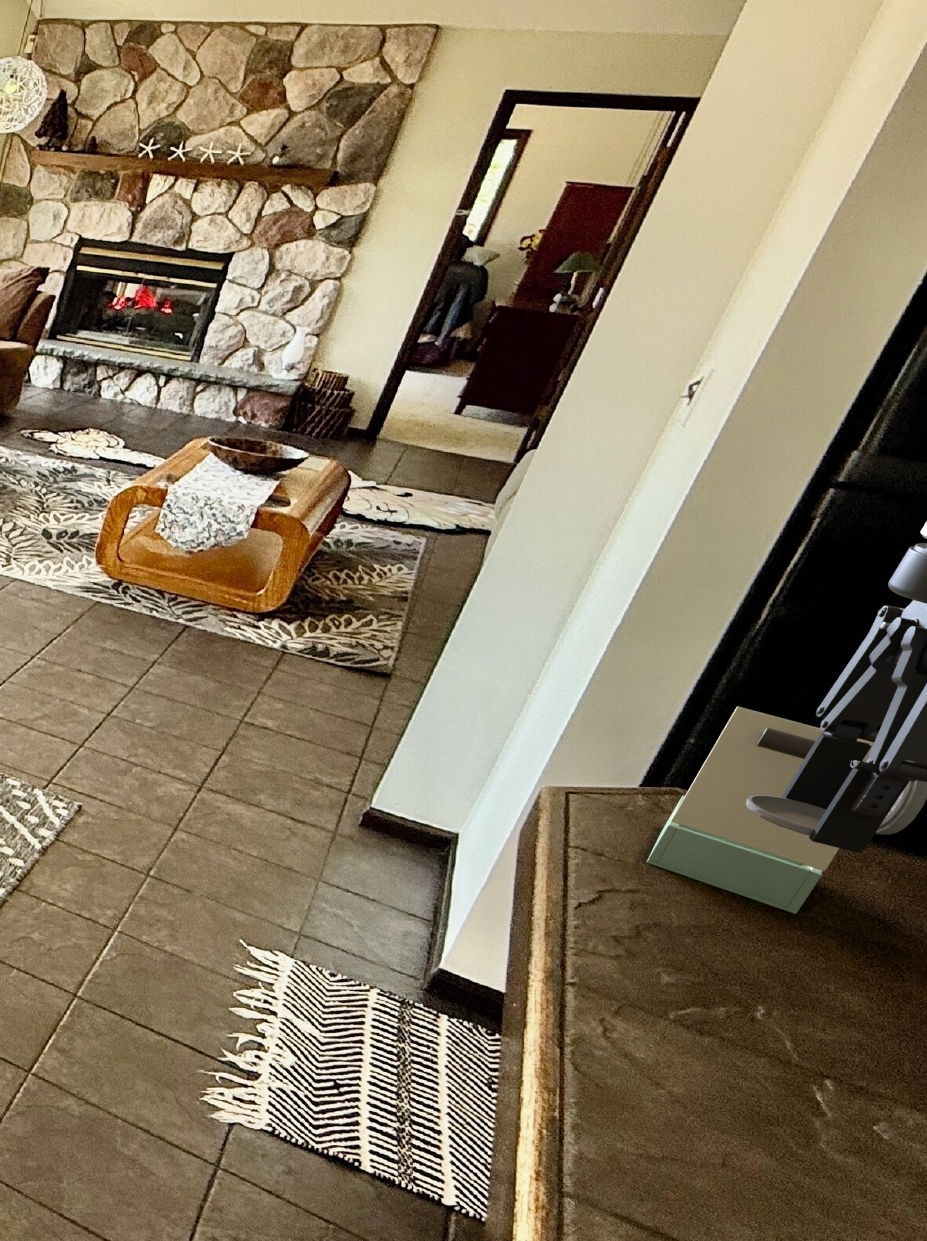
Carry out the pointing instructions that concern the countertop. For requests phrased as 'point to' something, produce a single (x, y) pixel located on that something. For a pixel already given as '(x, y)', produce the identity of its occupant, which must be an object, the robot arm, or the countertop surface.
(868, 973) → the countertop surface
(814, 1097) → the countertop surface
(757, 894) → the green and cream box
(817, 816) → the pocket watch
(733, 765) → the cream coin bank
